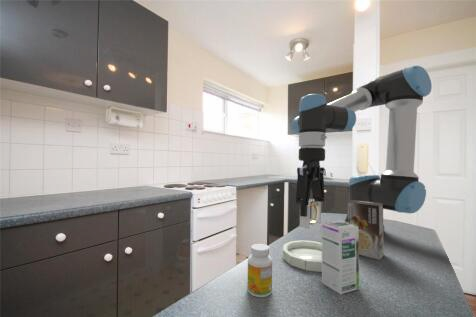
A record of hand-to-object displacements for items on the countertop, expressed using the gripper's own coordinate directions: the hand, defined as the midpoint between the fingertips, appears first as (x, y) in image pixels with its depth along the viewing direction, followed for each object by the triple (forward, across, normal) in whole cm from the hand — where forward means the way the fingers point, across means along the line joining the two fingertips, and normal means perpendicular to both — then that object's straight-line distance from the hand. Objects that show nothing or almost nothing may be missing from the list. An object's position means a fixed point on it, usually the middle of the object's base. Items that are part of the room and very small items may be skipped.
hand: (310, 224), depth 67 cm
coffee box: (+10, +16, -11) cm, 22 cm away
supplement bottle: (+10, -24, +1) cm, 26 cm away
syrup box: (+10, -10, -11) cm, 18 cm away
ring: (0, 0, 0) cm, 0 cm away
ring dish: (+10, 0, 0) cm, 10 cm away
